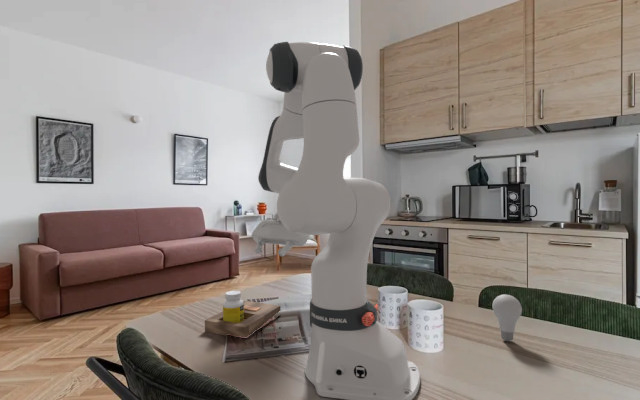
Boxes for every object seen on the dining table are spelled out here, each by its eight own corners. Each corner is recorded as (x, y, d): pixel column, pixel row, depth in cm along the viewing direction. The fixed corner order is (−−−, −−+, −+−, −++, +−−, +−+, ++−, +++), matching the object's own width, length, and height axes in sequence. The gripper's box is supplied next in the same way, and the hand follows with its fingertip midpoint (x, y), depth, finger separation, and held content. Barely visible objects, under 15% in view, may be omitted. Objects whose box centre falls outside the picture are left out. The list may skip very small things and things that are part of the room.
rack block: (280, 315, 98) (280, 304, 98) (245, 339, 83) (245, 326, 83) (244, 310, 104) (244, 299, 104) (204, 331, 88) (204, 319, 88)
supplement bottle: (243, 331, 88) (242, 294, 87) (222, 334, 86) (221, 296, 86) (244, 324, 93) (243, 289, 93) (224, 325, 92) (223, 290, 92)
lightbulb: (525, 340, 79) (524, 294, 79) (518, 349, 75) (518, 300, 75) (496, 333, 83) (496, 289, 83) (489, 341, 79) (488, 295, 79)
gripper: (260, 212, 112) (238, 245, 105) (309, 212, 101) (289, 249, 93) (269, 224, 116) (249, 256, 108) (318, 226, 105) (299, 262, 97)
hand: (268, 253), depth 101 cm, fingers open, 8 cm apart
